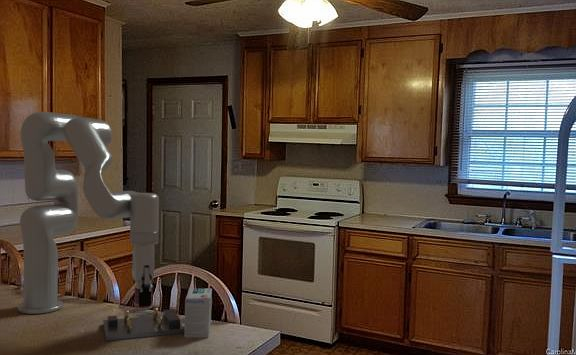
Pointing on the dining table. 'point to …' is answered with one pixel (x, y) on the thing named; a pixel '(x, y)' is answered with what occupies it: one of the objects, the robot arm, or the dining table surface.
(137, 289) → the pill bottle
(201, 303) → the light bulb box
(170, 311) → the chassis
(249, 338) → the dining table surface
